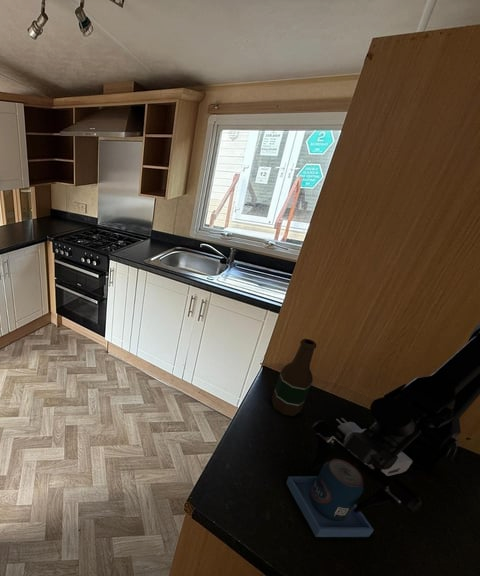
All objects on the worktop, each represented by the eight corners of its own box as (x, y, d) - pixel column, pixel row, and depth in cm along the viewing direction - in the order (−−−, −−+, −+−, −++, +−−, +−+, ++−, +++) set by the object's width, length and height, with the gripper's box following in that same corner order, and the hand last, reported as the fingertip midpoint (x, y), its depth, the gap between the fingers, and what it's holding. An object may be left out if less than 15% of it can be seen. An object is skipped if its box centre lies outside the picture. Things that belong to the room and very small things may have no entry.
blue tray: (332, 483, 73) (336, 476, 72) (369, 537, 64) (374, 530, 62) (285, 483, 73) (288, 476, 72) (315, 537, 64) (319, 530, 62)
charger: (349, 422, 89) (405, 472, 76) (322, 427, 87) (374, 479, 74) (355, 410, 87) (414, 459, 74) (327, 415, 85) (383, 466, 72)
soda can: (302, 487, 72) (319, 453, 66) (335, 493, 71) (354, 458, 65) (316, 520, 66) (336, 486, 60) (352, 527, 65) (375, 492, 59)
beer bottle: (265, 397, 97) (286, 334, 87) (288, 395, 98) (312, 332, 87) (281, 418, 90) (306, 351, 80) (306, 415, 91) (334, 349, 80)
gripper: (331, 392, 67) (280, 443, 68) (444, 470, 51) (374, 534, 53) (343, 408, 73) (295, 454, 74) (447, 482, 57) (384, 540, 59)
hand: (331, 490), depth 65 cm, fingers open, 9 cm apart
